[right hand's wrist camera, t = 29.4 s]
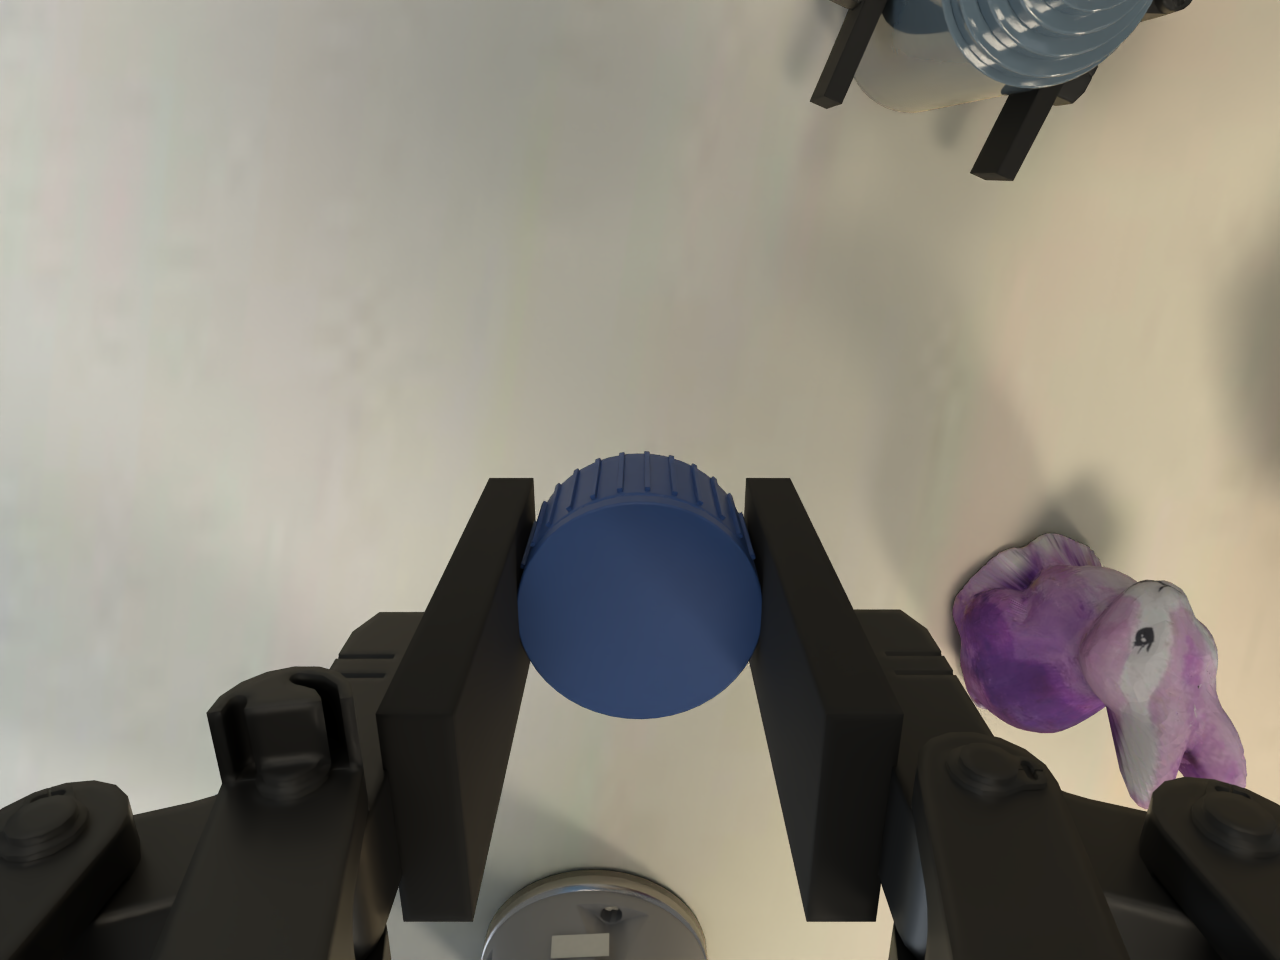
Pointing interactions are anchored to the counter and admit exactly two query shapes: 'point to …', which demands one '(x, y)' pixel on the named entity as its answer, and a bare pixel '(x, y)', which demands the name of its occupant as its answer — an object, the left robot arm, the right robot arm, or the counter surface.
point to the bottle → (987, 48)
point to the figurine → (1097, 661)
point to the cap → (639, 588)
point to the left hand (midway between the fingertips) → (909, 139)
